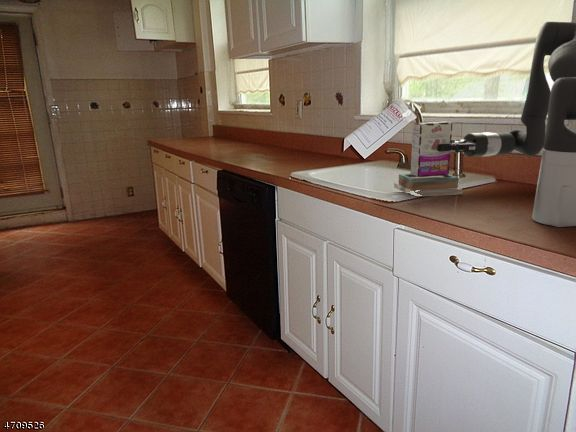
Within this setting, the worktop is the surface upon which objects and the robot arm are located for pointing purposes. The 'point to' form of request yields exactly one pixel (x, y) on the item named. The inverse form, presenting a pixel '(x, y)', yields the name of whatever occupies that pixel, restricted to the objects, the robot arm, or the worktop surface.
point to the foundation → (429, 185)
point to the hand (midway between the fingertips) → (433, 146)
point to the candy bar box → (430, 149)
